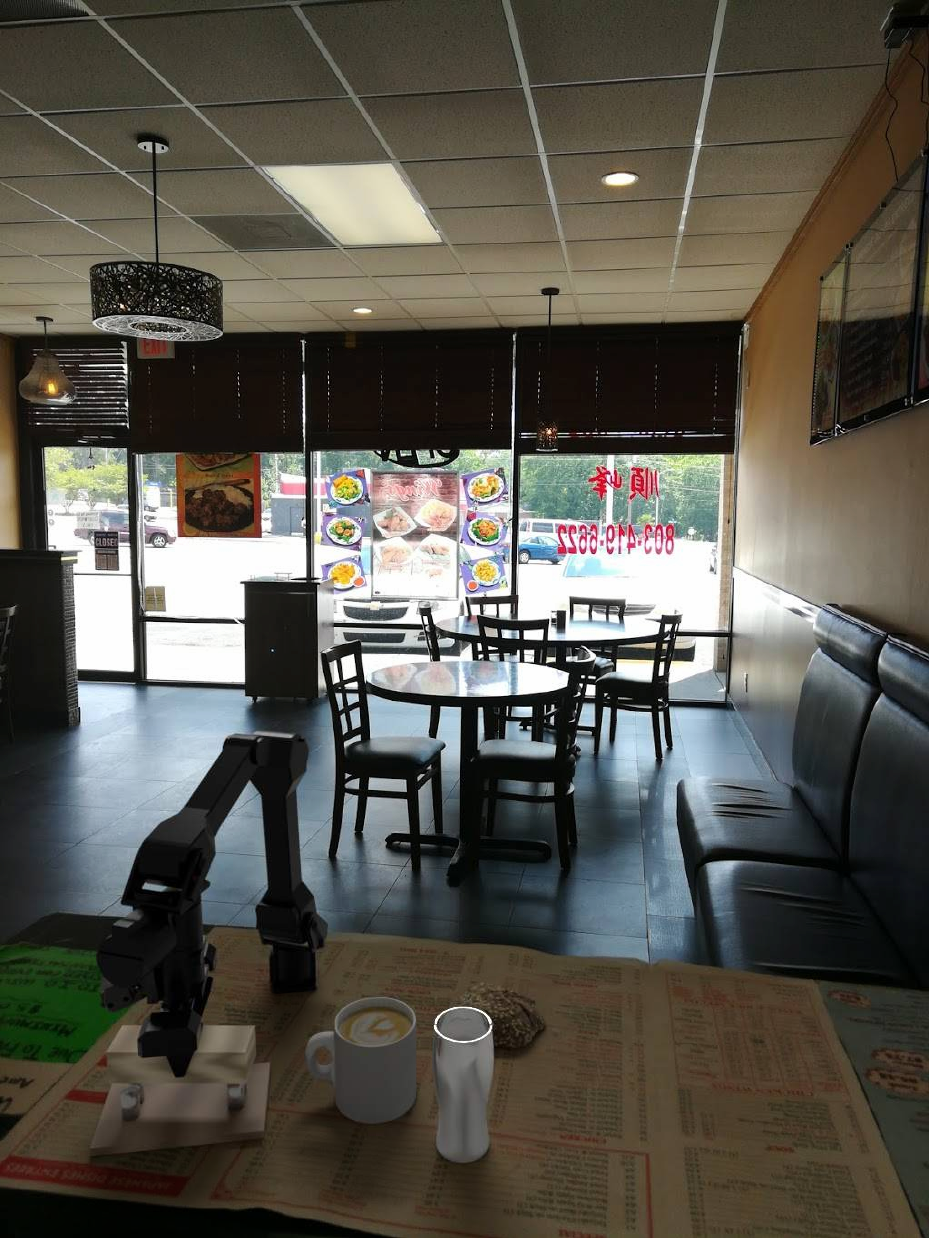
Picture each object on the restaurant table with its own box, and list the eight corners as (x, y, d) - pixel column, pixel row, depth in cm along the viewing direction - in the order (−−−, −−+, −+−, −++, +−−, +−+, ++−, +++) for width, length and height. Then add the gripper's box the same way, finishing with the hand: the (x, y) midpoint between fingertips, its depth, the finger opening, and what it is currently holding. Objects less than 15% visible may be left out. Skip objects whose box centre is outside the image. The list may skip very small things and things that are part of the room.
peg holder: (270, 1069, 114) (269, 1040, 113) (263, 1138, 102) (262, 1107, 101) (115, 1083, 111) (113, 1054, 110) (89, 1156, 99) (87, 1124, 98)
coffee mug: (424, 1072, 113) (423, 1001, 112) (405, 1128, 104) (405, 1051, 102) (323, 1060, 115) (321, 989, 114) (296, 1114, 106) (294, 1038, 104)
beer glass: (487, 1171, 97) (488, 1047, 95) (425, 1161, 99) (425, 1039, 96) (497, 1125, 104) (499, 1009, 102) (439, 1117, 105) (439, 1001, 103)
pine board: (256, 1055, 108) (255, 1025, 107) (246, 1083, 103) (245, 1052, 102) (124, 1054, 108) (122, 1025, 107) (108, 1083, 103) (106, 1052, 102)
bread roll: (438, 1038, 120) (438, 1005, 120) (472, 989, 132) (472, 959, 131) (528, 1062, 116) (528, 1027, 115) (555, 1010, 127) (556, 978, 126)
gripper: (122, 905, 111) (129, 1018, 113) (82, 991, 92) (92, 1124, 95) (214, 899, 112) (219, 1011, 115) (193, 982, 94) (199, 1114, 97)
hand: (183, 1060), depth 105 cm, fingers closed on pine board, 5 cm apart
